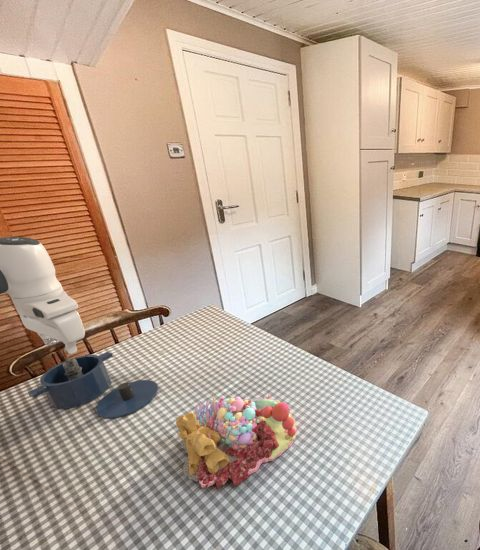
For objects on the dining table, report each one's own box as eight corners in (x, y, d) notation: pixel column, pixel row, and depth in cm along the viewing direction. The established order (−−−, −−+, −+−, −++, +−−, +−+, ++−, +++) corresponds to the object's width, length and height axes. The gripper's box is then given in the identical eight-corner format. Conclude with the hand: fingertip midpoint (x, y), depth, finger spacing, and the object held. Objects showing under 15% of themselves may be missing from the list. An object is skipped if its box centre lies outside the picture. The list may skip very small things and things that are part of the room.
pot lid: (85, 411, 80) (78, 396, 78) (138, 378, 92) (132, 364, 90) (119, 427, 75) (112, 411, 73) (169, 390, 87) (165, 375, 85)
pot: (29, 410, 80) (15, 385, 77) (104, 368, 96) (95, 346, 93) (56, 424, 76) (43, 398, 73) (131, 378, 92) (122, 355, 88)
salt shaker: (93, 381, 90) (79, 347, 85) (98, 390, 86) (83, 356, 82) (67, 393, 85) (50, 358, 81) (71, 403, 82) (53, 367, 77)
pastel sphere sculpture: (208, 516, 57) (198, 483, 53) (164, 443, 71) (154, 413, 67) (312, 430, 74) (309, 401, 71) (260, 385, 88) (255, 359, 85)
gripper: (1, 299, 76) (24, 346, 81) (48, 314, 69) (69, 364, 74) (34, 289, 81) (53, 334, 86) (81, 303, 74) (99, 350, 79)
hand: (61, 348), depth 80 cm, fingers open, 8 cm apart
